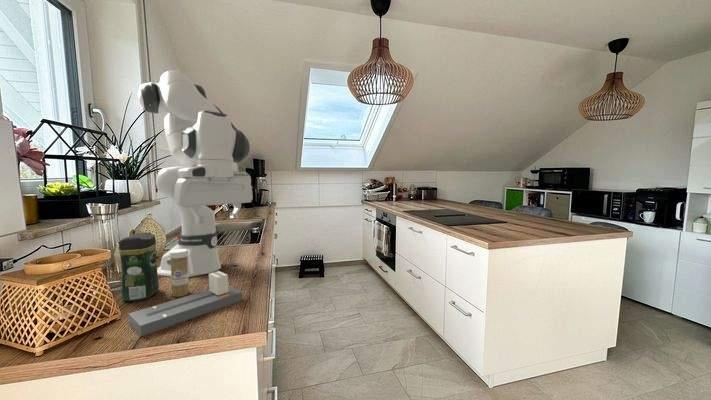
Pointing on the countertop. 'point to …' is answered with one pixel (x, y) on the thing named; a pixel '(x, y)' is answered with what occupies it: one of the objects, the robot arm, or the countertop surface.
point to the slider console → (180, 310)
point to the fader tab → (218, 283)
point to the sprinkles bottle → (179, 272)
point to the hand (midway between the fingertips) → (217, 220)
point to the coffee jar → (138, 266)
